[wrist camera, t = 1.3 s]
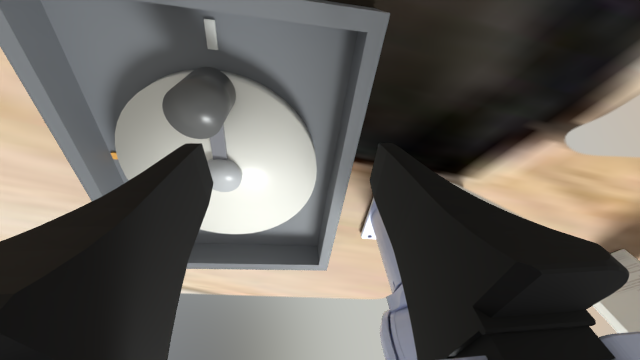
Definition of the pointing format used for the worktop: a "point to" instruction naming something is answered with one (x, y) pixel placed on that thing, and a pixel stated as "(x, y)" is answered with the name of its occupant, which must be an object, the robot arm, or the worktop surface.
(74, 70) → the bezel plate
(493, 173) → the worktop surface
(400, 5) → the worktop surface
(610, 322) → the supplement box
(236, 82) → the dial
